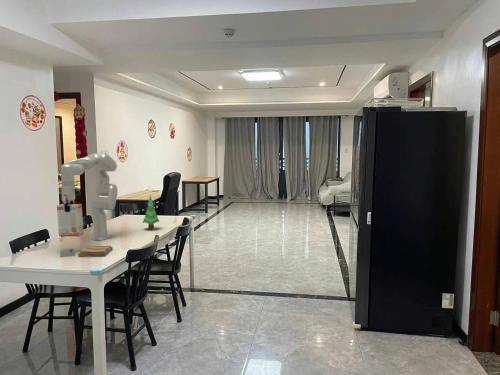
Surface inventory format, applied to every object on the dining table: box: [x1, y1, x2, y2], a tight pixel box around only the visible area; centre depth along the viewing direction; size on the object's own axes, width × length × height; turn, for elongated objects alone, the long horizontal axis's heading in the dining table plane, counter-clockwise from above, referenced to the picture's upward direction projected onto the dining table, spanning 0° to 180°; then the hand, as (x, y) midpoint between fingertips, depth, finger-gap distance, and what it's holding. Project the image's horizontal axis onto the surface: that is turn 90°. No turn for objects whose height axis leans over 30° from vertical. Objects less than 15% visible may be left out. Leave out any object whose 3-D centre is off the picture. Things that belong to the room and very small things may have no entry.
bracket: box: [59, 248, 76, 258], centre depth 226 cm, size 5×8×4 cm, turn 111°
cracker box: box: [56, 203, 84, 238], centre depth 234 cm, size 14×6×21 cm, turn 84°
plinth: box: [77, 245, 113, 258], centre depth 231 cm, size 16×16×3 cm
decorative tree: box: [142, 194, 160, 231], centre depth 302 cm, size 14×16×30 cm
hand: (69, 210), depth 234 cm, fingers closed on cracker box, 6 cm apart
